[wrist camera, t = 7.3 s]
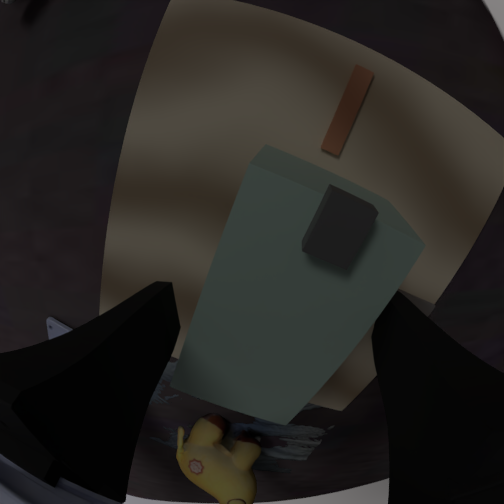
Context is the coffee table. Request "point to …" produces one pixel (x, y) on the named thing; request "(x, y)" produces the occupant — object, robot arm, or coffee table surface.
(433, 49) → the coffee table surface
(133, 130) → the base
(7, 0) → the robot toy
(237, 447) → the stuffed giraffe
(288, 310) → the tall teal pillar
